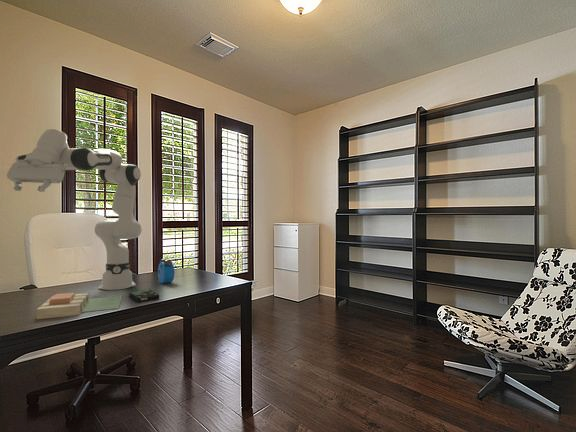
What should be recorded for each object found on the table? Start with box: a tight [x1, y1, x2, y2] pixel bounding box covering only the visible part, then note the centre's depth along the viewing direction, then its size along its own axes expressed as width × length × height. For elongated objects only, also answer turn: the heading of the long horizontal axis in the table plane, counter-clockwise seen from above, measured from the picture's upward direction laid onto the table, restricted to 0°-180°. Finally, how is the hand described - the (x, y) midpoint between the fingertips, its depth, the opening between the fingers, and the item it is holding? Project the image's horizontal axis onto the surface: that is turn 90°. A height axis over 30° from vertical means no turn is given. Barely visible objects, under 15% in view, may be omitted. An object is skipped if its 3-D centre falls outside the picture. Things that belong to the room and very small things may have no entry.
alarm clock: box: [157, 257, 175, 284], centre depth 185 cm, size 13×6×15 cm, turn 41°
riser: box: [36, 292, 90, 320], centre depth 130 cm, size 22×14×4 cm, turn 25°
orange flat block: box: [48, 292, 76, 304], centre depth 130 cm, size 10×7×2 cm
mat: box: [80, 295, 123, 314], centre depth 139 cm, size 22×14×1 cm, turn 25°
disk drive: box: [129, 289, 160, 303], centre depth 151 cm, size 10×3×15 cm
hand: (28, 190), depth 117 cm, fingers open, 8 cm apart
